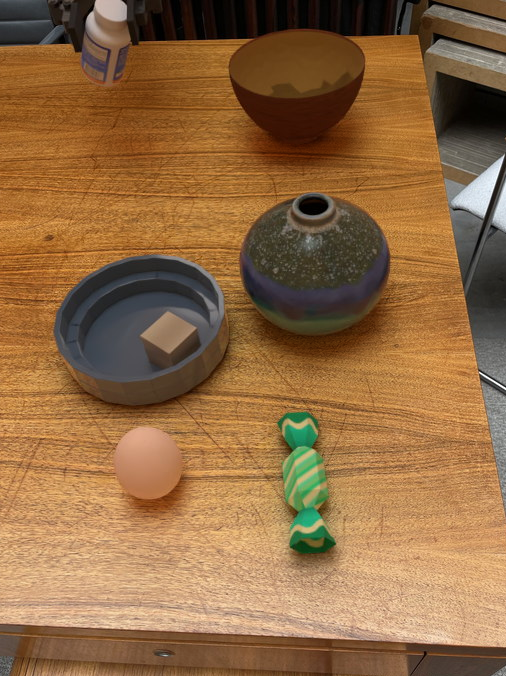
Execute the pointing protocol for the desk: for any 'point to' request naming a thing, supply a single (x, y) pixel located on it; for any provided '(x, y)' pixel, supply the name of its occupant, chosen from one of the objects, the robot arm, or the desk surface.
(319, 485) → the candy
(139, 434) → the egg
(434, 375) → the desk surface
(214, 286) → the bowl
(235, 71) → the bowl
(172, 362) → the block
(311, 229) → the vase
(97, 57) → the pill bottle
